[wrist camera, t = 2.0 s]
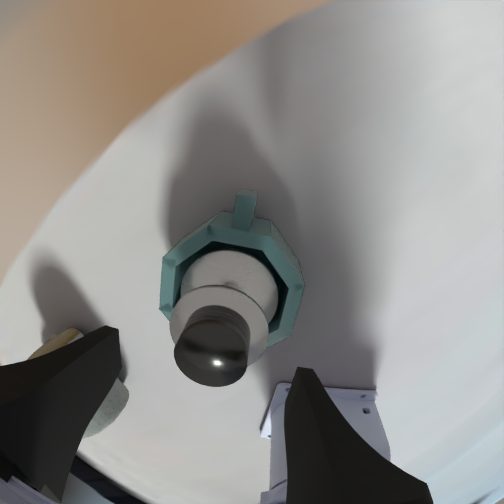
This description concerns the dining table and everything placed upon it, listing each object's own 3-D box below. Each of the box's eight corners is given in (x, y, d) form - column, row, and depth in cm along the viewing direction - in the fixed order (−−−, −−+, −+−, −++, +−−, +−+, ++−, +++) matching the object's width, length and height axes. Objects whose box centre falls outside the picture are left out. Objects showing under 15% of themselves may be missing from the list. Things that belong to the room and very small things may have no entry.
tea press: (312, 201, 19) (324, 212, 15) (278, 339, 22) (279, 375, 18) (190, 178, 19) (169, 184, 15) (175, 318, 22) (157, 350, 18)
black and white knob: (287, 258, 16) (296, 314, 10) (266, 341, 18) (264, 415, 12) (188, 239, 16) (145, 283, 10) (179, 323, 18) (146, 389, 12)
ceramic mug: (87, 312, 23) (36, 361, 15) (141, 381, 25) (109, 440, 17) (37, 343, 25) (-3, 382, 18) (82, 398, 27) (52, 442, 20)
